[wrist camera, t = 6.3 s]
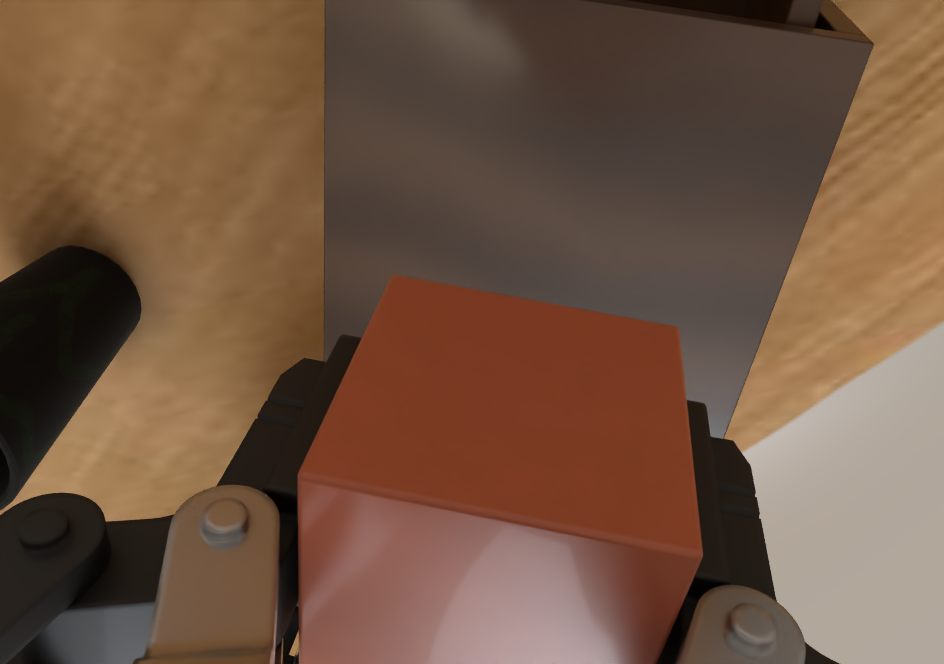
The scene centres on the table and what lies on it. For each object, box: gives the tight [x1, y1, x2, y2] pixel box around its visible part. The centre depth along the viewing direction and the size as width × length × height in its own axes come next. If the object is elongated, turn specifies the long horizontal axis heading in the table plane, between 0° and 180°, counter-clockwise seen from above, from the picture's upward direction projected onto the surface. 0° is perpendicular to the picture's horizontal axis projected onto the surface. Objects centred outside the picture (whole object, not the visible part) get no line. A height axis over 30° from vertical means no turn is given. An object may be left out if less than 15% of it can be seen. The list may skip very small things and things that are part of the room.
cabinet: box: [324, 0, 874, 439], centre depth 30 cm, size 17×15×10 cm
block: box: [297, 275, 703, 664], centre depth 12 cm, size 4×4×4 cm
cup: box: [0, 246, 141, 510], centre depth 37 cm, size 8×8×12 cm
